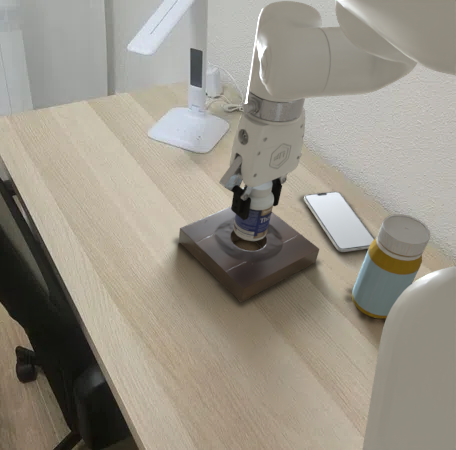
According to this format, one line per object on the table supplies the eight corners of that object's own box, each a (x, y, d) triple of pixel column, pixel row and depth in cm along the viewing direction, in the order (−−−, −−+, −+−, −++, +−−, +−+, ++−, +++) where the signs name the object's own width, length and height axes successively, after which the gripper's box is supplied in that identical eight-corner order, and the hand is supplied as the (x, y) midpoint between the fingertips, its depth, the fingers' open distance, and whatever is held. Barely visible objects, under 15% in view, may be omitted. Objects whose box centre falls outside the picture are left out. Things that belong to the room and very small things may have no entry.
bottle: (359, 279, 87) (388, 205, 77) (404, 299, 84) (440, 225, 74) (343, 306, 83) (372, 231, 73) (389, 328, 80) (425, 253, 70)
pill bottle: (261, 246, 85) (271, 196, 79) (228, 235, 87) (236, 186, 81) (271, 226, 89) (281, 177, 83) (239, 216, 91) (247, 167, 84)
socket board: (315, 262, 90) (319, 248, 88) (240, 302, 83) (243, 288, 81) (250, 209, 99) (252, 196, 98) (178, 241, 92) (179, 228, 90)
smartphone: (339, 250, 91) (302, 195, 102) (338, 253, 91) (301, 197, 102) (379, 244, 92) (339, 190, 103) (378, 247, 93) (338, 193, 104)
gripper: (244, 132, 67) (227, 241, 79) (340, 97, 74) (311, 202, 86) (206, 106, 72) (195, 213, 83) (300, 76, 79) (278, 178, 91)
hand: (254, 206), depth 85 cm, fingers closed on pill bottle, 5 cm apart
